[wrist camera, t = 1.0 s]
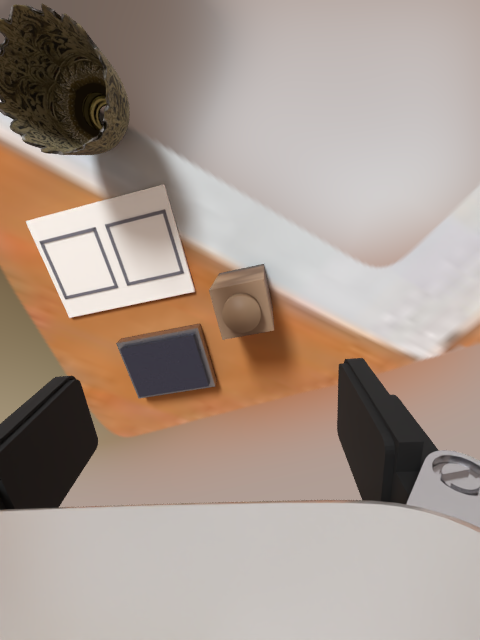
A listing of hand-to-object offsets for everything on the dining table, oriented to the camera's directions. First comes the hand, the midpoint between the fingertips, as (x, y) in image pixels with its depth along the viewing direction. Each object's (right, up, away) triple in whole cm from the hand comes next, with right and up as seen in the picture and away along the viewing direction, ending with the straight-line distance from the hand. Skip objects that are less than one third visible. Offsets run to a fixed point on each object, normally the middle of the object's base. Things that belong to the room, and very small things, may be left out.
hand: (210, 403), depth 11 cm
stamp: (+2, +6, +19) cm, 20 cm away
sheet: (-11, +9, +19) cm, 24 cm away
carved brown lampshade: (-10, +20, +15) cm, 27 cm away
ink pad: (-7, -1, +23) cm, 24 cm away
